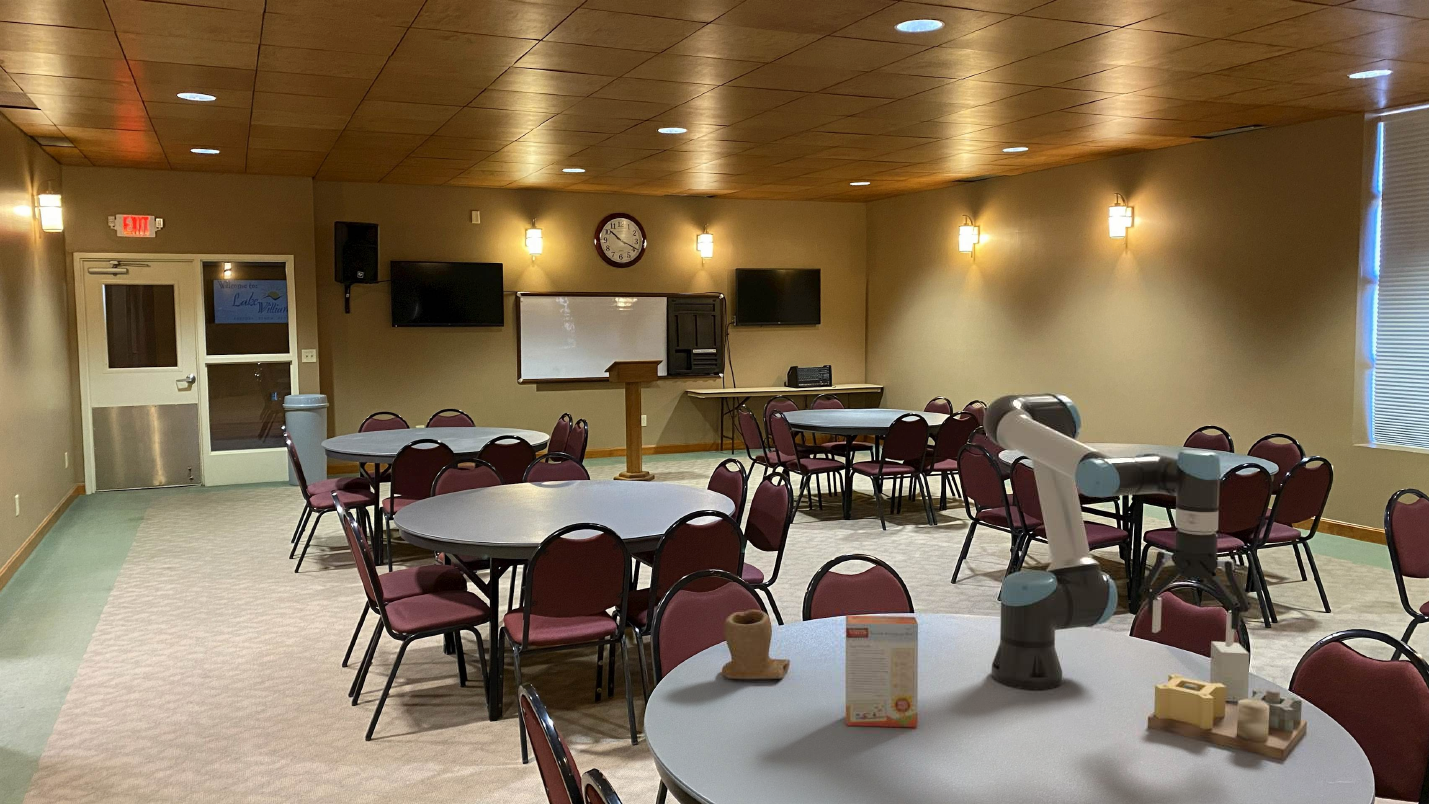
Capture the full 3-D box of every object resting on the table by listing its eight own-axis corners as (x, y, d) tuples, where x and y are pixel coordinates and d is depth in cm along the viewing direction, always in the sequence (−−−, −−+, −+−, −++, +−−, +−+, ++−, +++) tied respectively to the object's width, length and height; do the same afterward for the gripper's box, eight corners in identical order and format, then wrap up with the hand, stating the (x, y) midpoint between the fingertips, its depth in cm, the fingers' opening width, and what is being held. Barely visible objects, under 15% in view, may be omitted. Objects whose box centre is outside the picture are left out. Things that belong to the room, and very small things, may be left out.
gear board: (1147, 726, 206) (1148, 686, 205) (1177, 701, 219) (1178, 664, 219) (1283, 760, 190) (1285, 717, 189) (1306, 730, 203) (1308, 690, 203)
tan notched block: (1151, 716, 206) (1152, 686, 205) (1169, 701, 214) (1170, 672, 213) (1210, 730, 198) (1211, 699, 198) (1227, 714, 207) (1228, 684, 206)
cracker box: (915, 717, 211) (916, 615, 209) (917, 729, 205) (919, 624, 203) (844, 714, 212) (845, 613, 210) (845, 726, 206) (846, 621, 204)
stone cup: (719, 686, 229) (719, 618, 228) (724, 668, 241) (724, 604, 240) (788, 688, 227) (789, 620, 226) (790, 670, 239) (790, 605, 238)
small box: (1248, 703, 218) (1250, 653, 218) (1219, 701, 220) (1221, 651, 219) (1237, 689, 226) (1238, 642, 225) (1209, 688, 227) (1210, 640, 227)
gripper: (1124, 525, 209) (1120, 629, 210) (1261, 543, 192) (1256, 656, 194) (1137, 519, 214) (1134, 621, 216) (1272, 536, 198) (1267, 646, 200)
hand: (1192, 638), depth 205 cm, fingers open, 13 cm apart
